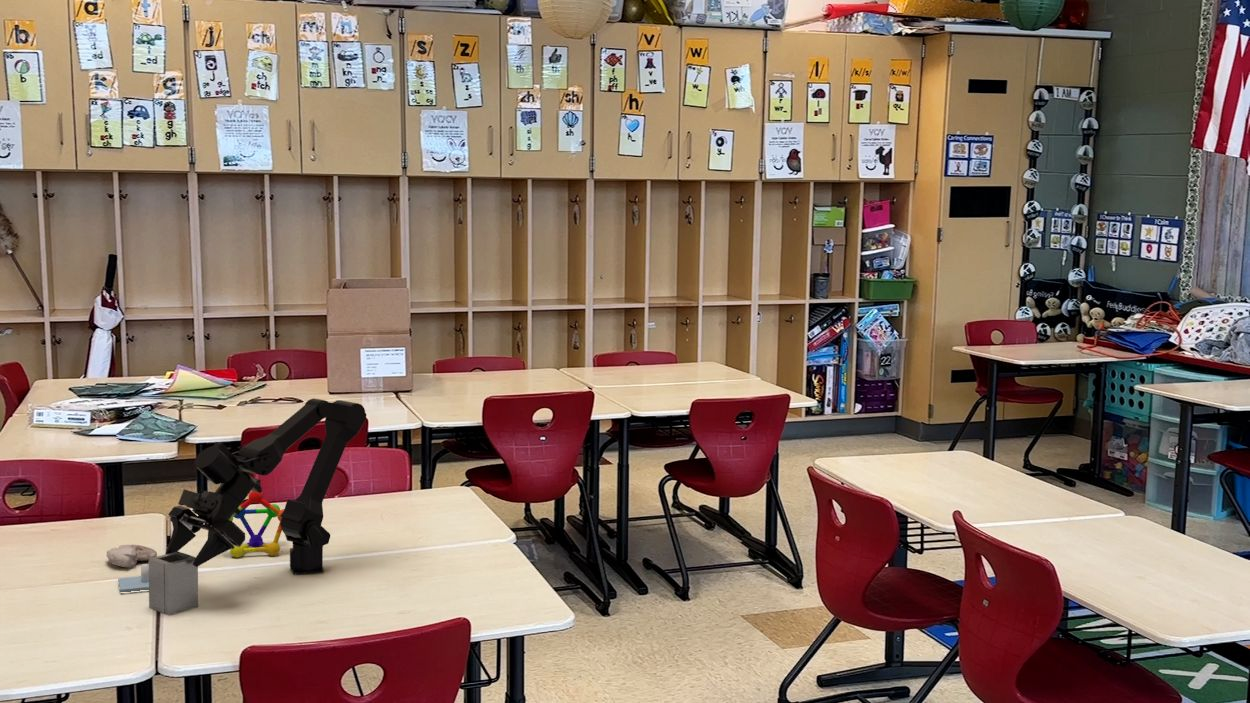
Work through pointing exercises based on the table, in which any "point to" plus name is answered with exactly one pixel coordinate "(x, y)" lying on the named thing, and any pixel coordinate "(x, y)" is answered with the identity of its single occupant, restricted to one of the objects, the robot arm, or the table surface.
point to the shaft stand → (136, 581)
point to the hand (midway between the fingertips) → (180, 561)
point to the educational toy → (257, 540)
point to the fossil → (130, 555)
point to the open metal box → (173, 583)
